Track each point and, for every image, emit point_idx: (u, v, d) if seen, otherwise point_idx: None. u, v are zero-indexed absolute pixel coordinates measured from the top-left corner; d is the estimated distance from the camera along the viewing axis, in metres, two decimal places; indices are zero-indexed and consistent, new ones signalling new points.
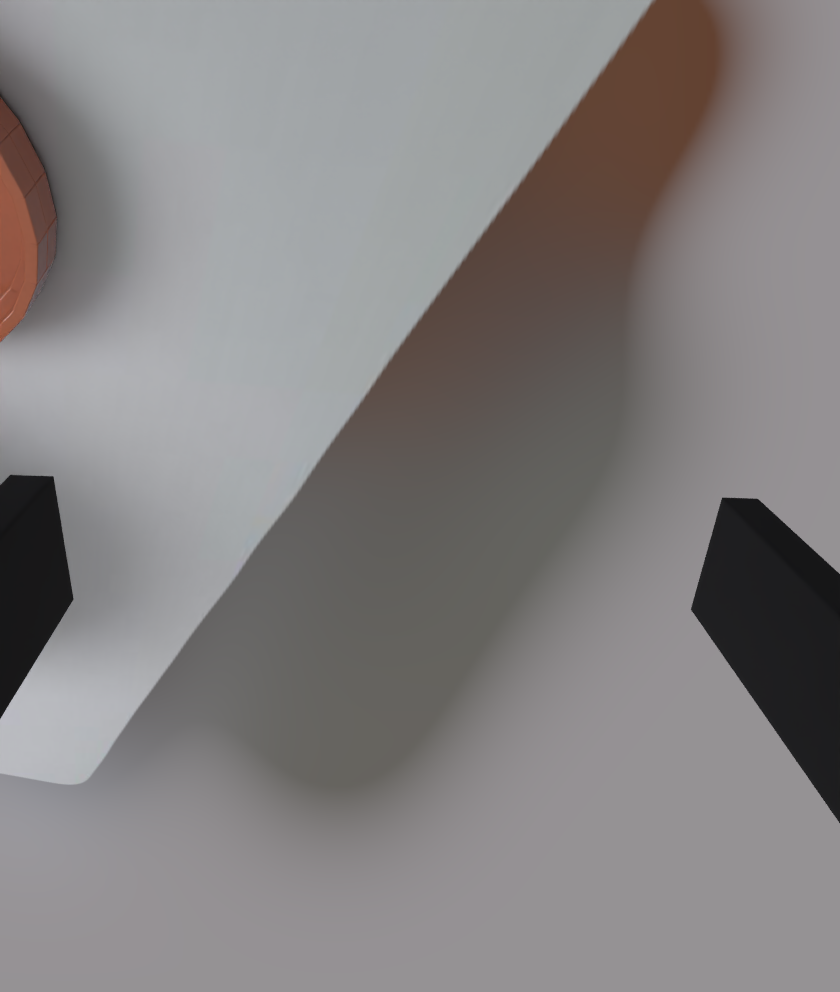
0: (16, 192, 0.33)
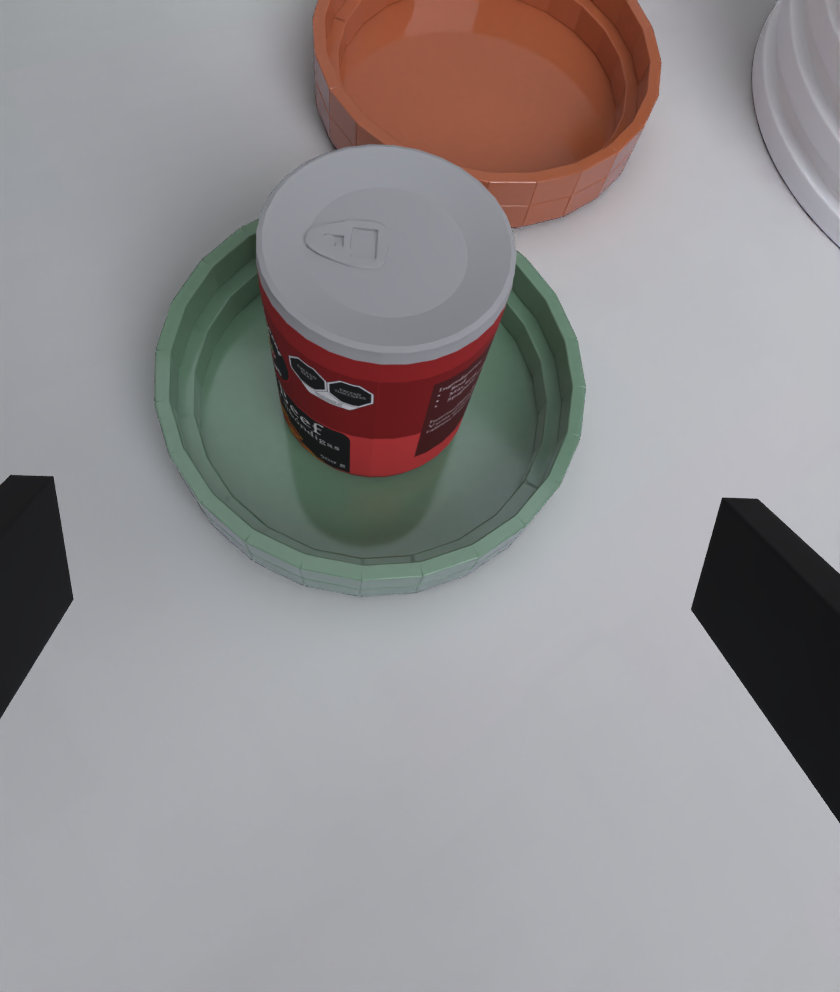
0: None
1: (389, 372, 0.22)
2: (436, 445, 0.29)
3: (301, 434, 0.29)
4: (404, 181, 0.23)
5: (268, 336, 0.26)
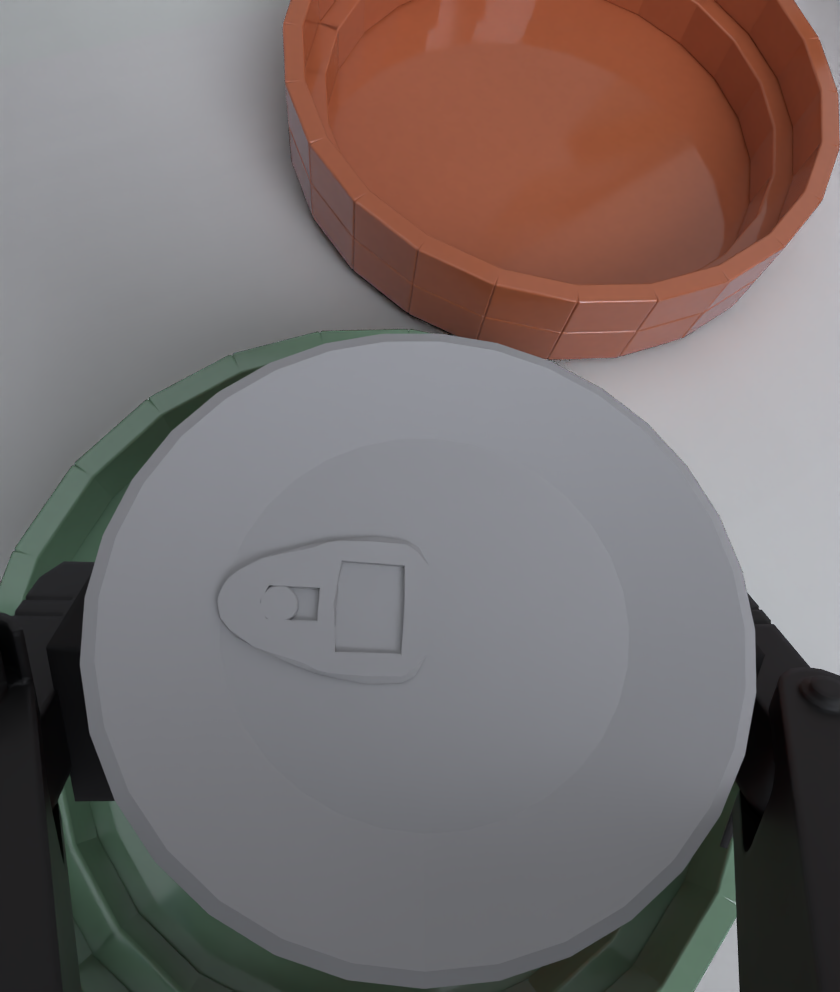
0: None
1: None
2: None
3: None
4: (466, 423, 0.10)
5: None
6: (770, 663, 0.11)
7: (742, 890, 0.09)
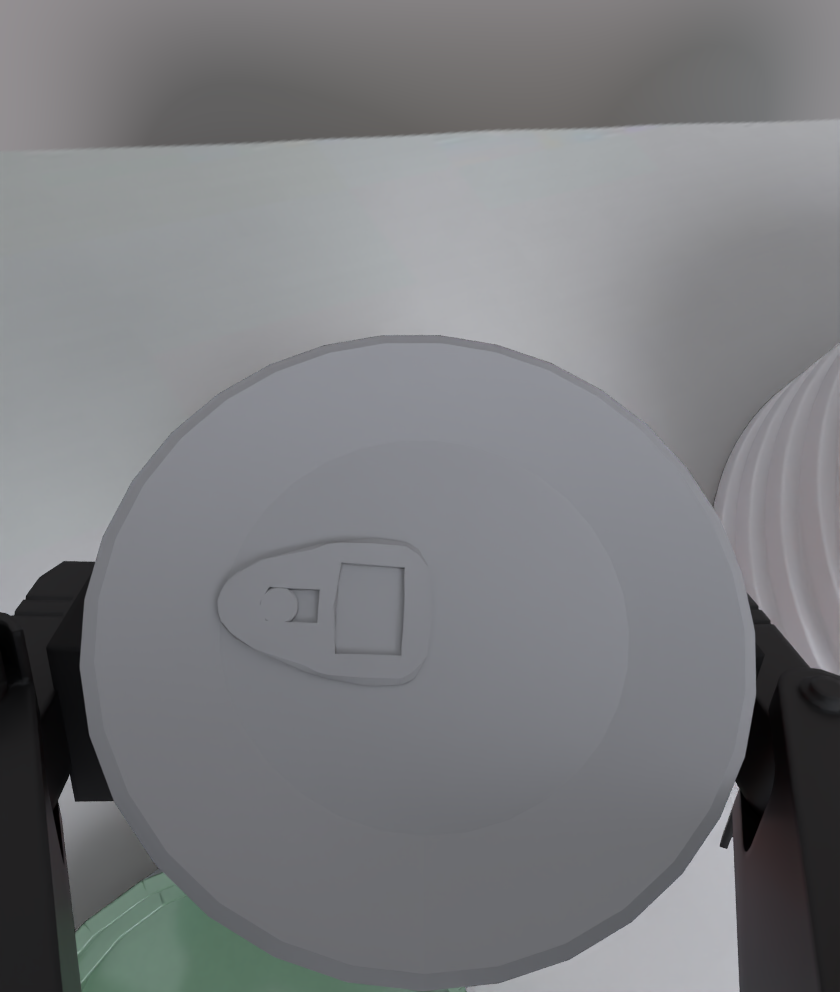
0: None
1: None
2: None
3: None
4: (466, 425, 0.10)
5: None
6: (770, 663, 0.11)
7: (742, 890, 0.09)
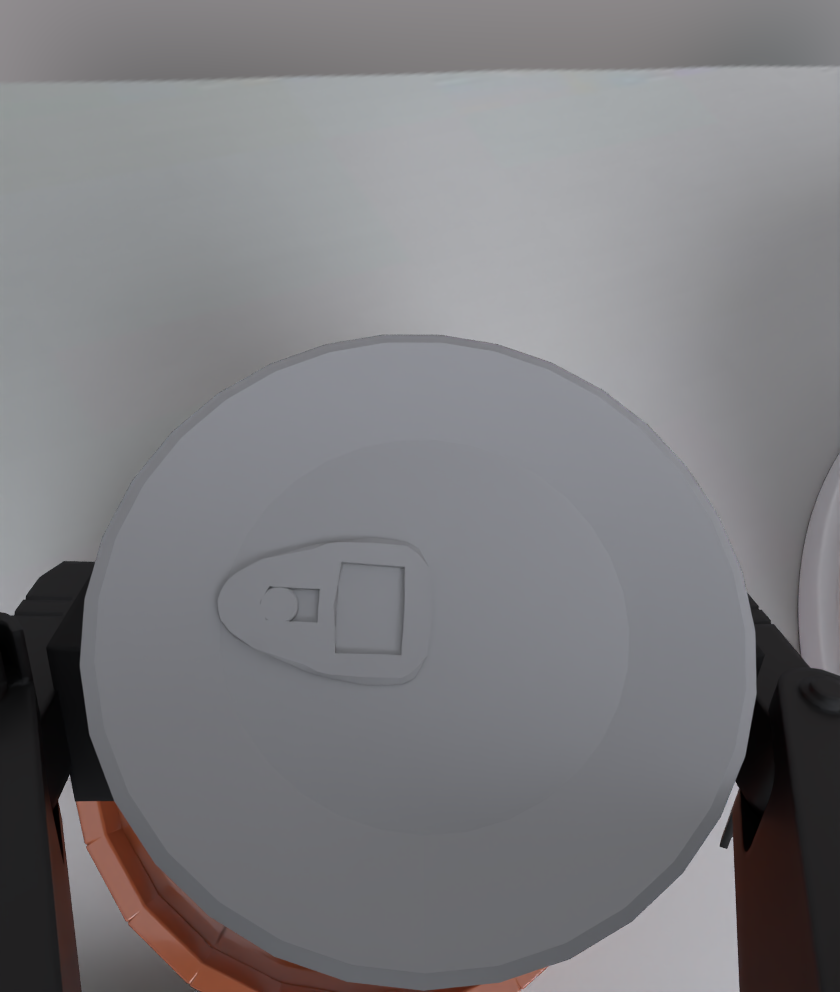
0: None
1: None
2: None
3: None
4: (466, 424, 0.10)
5: None
6: (771, 663, 0.11)
7: (742, 890, 0.09)
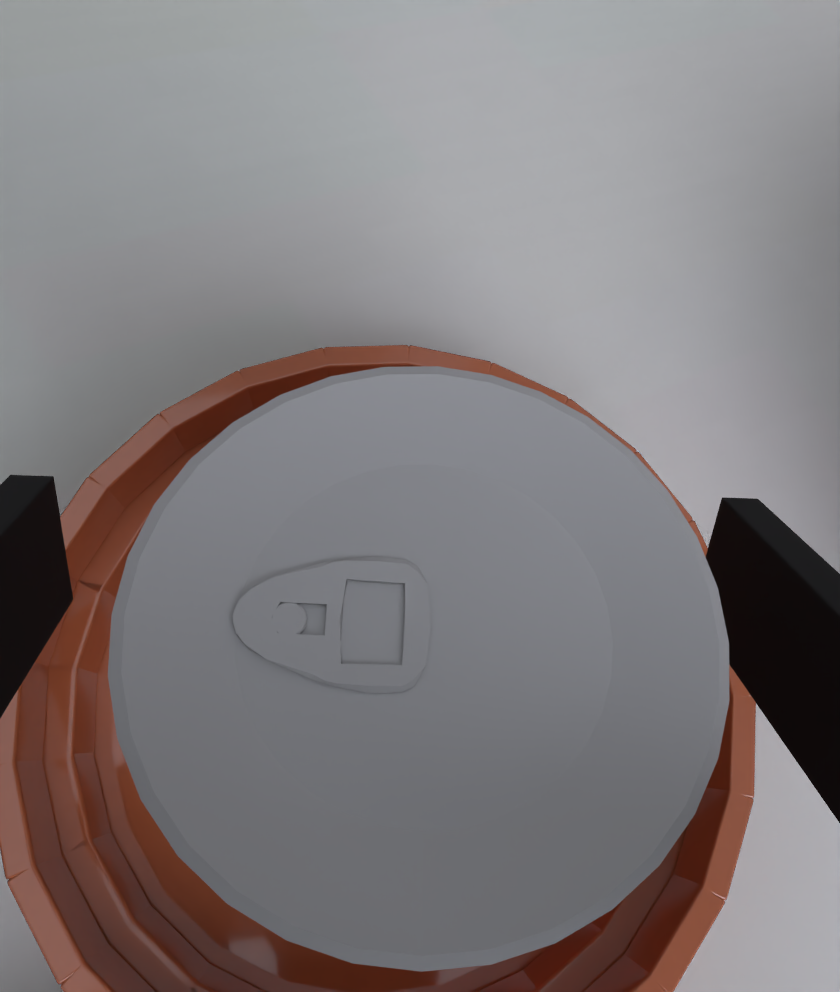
0: (155, 425, 0.18)
1: None
2: None
3: None
4: (462, 450, 0.10)
5: None
6: None
7: None
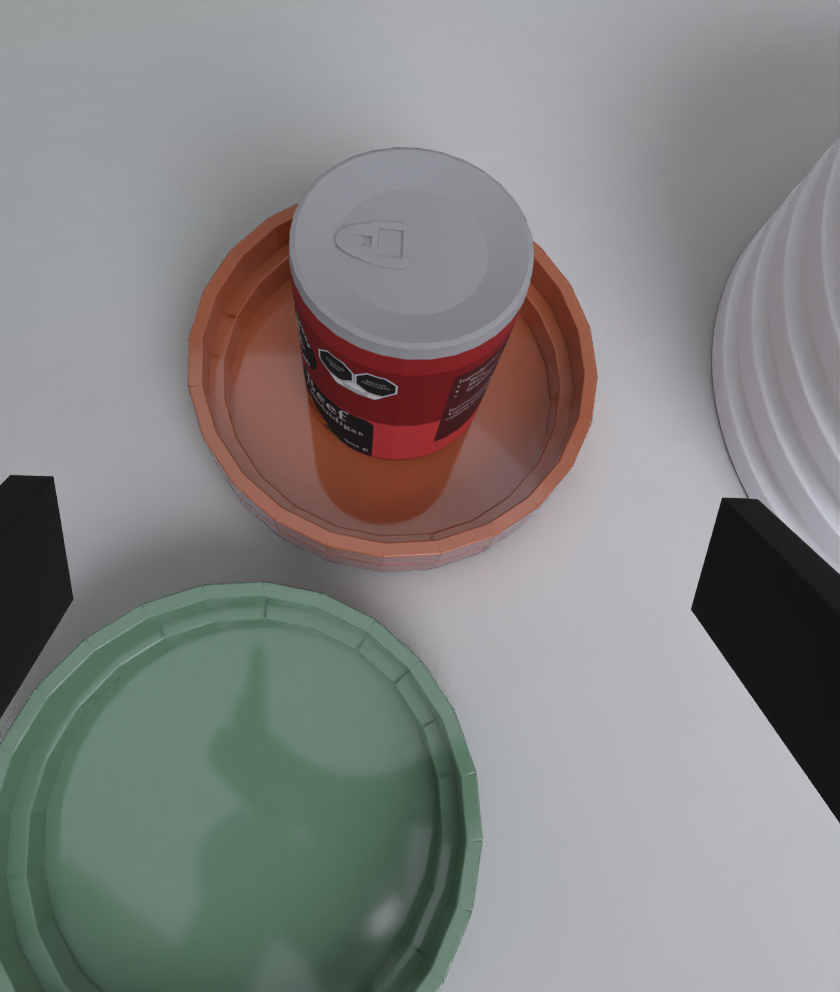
0: (266, 224, 0.32)
1: (413, 366, 0.23)
2: (454, 431, 0.31)
3: (326, 419, 0.31)
4: (428, 183, 0.24)
5: None
6: None
7: None
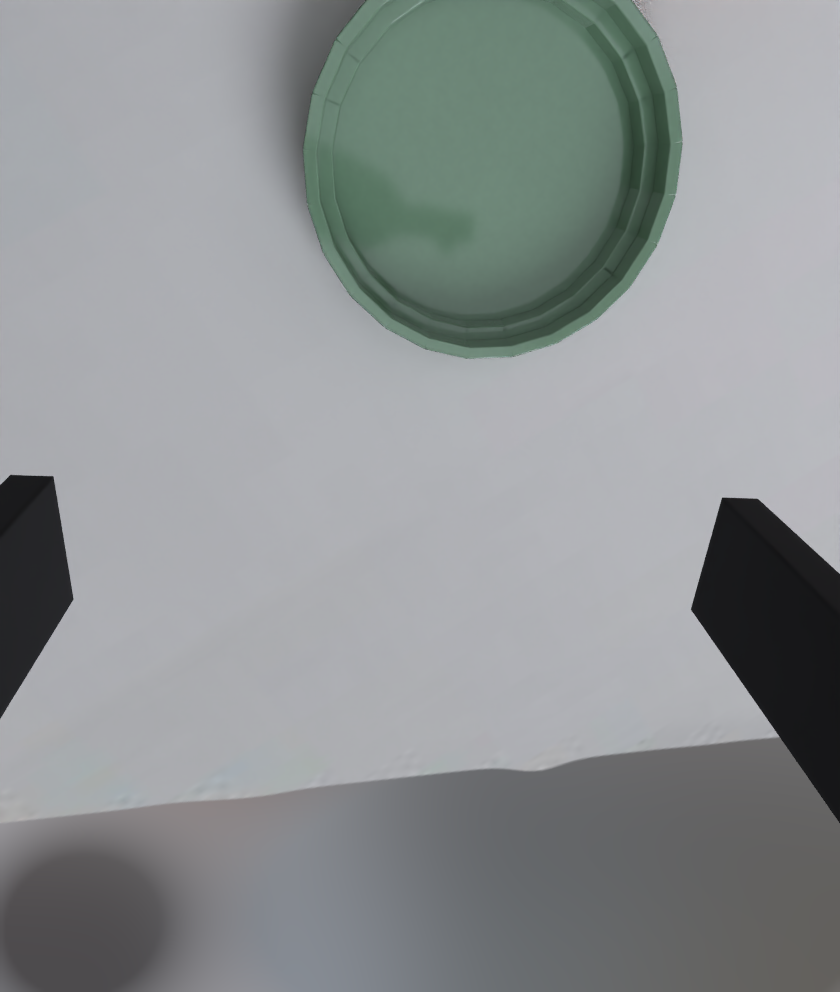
0: None
1: None
2: None
3: None
4: None
5: None
6: None
7: None
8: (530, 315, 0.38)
